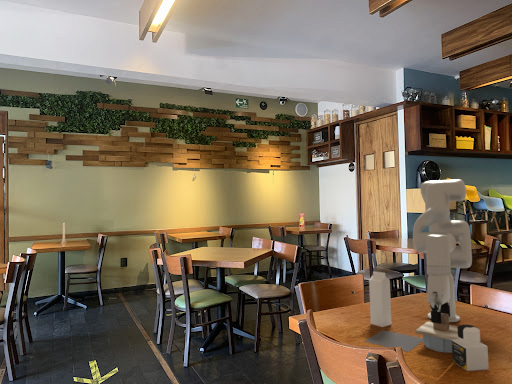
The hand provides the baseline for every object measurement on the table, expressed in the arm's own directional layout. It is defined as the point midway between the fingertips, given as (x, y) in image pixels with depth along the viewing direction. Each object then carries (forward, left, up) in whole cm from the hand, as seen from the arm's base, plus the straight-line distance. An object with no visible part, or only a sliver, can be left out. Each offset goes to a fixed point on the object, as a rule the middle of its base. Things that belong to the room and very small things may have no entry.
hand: (440, 319), depth 132 cm
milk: (-11, -27, -10) cm, 31 cm away
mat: (+4, -15, -10) cm, 18 cm away
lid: (0, 0, -4) cm, 4 cm away
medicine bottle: (+10, +11, -10) cm, 18 cm away
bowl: (0, 0, -10) cm, 10 cm away
